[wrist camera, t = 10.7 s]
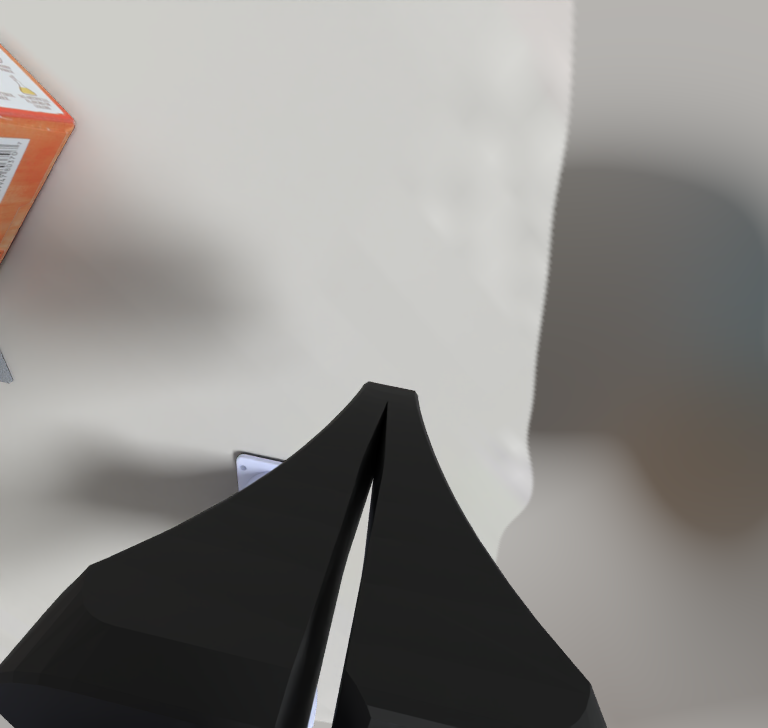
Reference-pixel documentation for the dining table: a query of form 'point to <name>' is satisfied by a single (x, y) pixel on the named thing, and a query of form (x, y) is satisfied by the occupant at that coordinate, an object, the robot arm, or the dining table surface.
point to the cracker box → (25, 143)
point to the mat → (4, 371)
